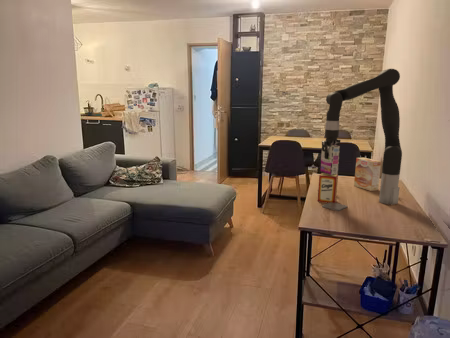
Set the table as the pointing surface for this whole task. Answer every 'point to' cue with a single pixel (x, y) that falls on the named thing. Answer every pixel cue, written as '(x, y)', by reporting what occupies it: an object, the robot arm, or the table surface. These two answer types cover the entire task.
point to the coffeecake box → (367, 173)
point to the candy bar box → (330, 160)
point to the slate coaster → (335, 206)
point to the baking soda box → (327, 188)
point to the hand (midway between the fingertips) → (330, 158)
